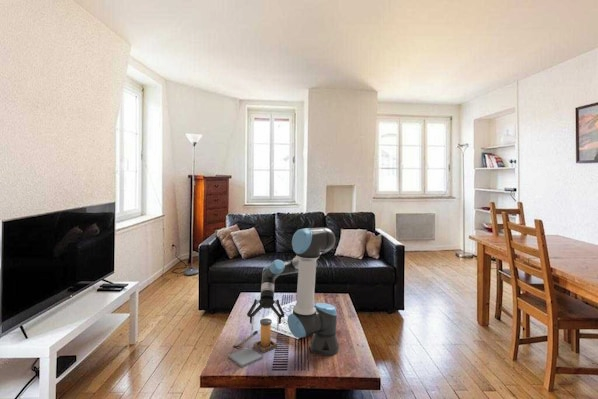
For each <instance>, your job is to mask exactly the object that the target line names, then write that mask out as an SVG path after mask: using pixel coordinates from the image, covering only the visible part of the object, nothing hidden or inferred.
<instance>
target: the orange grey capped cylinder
mask: <svg viewBox="0 0 598 399" xmlns="http://www.w3.org/2000/svg"><path fill="white" fill-rule="evenodd" d="M259 324H260V341H261V344H260V345H259V346H261V347H262V348H264V349H265V348H267V347H269V346H272V345H271V344H270V342H271V341H272V339H271V336H272V335H271V334H272V333H271V332H272V331H271V329H272V328H271V327H272V319H270V318H261V319H260V320H259Z"/></svg>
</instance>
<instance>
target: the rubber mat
mask: <svg viewBox="0 0 598 399" xmlns="http://www.w3.org/2000/svg"><path fill="white" fill-rule="evenodd" d="M228 358H229V359H230V360H232V361H233V362H234V363H236V364H237V365H238V366H240V367H241V368H244V367H247V366H248V365H251V364H253V363H255V362H257V361H260V360H262V359H263V358H264V357H263V355H261V354H260V353H258V352H256V350H254V349H252V348H251V347H245V348H243V349H239V350H238V351H235V352H233V353H231V354H229V355H228Z"/></svg>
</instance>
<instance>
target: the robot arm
mask: <svg viewBox="0 0 598 399" xmlns="http://www.w3.org/2000/svg"><path fill="white" fill-rule="evenodd" d="M291 239H292V240H291V246H292V250H293V252H294V253H295V254H296V256H294V257H293V258H292V259H290V260H285V261H283V260H281V259H275V260H274V261H272V262H271V263H270V264H269V265H266V266H263V269H262V272H261V285H260V286H261V287H260V299H256V298H255V299H254V300H253V303H252V305H251V307H250V308H249V310H248V311H247V314H246V315H247V317H248V318H249V324H250V325H251V326H250V330H251V331H254V323H255V318H254V317H255V316H256V315H257V313H259V312H260V311H261V310H262V309H264V310H265V309H271V310H272V311H273V312H274V314H275V315H276V316H277V322H276V331H277V332H278V331H279V330H280V329H279V326H280V324H282V318H284V317H285V312H284V310H283V308H282V306H281V304H280V300H279V299H276V300H275V299H274V298H275V293H274V292H275V280H276V279H277V278H278V277H279V276H283V275H289V274H290V275H291V274H297V285H296V286H297V289H296V304H295V305H294V306H293V307H292V313H290V314H289V315H288V316H287V320H286V321H287V327H288V328H289V329H288V330H289V331H290V333H291V334H292V336H293V337H295V338H297V339H300V338H306V337H308V336H310V335H312V337H311V341H310V345H309V348H310V351H311V352H312V353H314V354H316V355H319V356H334V355H336V354H338V352H339V351H340V344H339V341H338V338H337V337H338V336H337V319H338V318H337V316H338V314H337V307H336V306H334V305H332V304H330V303H326V302H316V303H315V288H316V275H317V274H316V272H317V260H318V259H319V258H320V257H321V255H322V254H326V253H328V252H329V251H331V250H332V249H333V248H334V247H335V244H336V235H335V233H334V232H333V231H332V230H331V229H330V228H328V227H324V226H322V227H320V226H319V227H308V228H307V227H305V228H300V229H297V230H296V231H295V232H294V234H293V236H292V238H291ZM258 304H259V305H258ZM274 304H275V305H276V306H277V308H278V310H279V311H278V310H277V308H276V307H275V305H274ZM257 305H258V307H256V306H257Z"/></svg>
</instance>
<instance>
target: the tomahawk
mask: <svg viewBox="0 0 598 399" xmlns="http://www.w3.org/2000/svg"><path fill="white" fill-rule="evenodd" d="M258 332H259V331H258V330H255V331H254V332H253V333H252V334H251V335H249V336H248V337H247V338H245V339H244V340H243V341H241V342H240V343H238V344H237V345H233V346H232V348H235V349H237V350H240V349H242V348H243V347H242V345H244V344H245V343H246V342H248V341H249V340H250V339H251V338H252V337H254V336H256V334H258Z"/></svg>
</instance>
